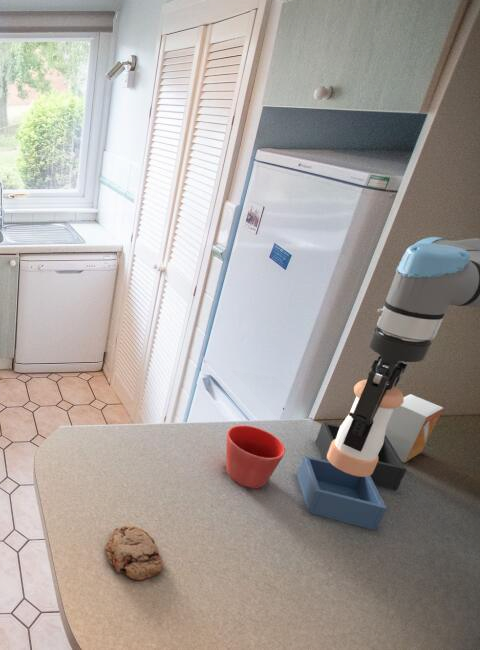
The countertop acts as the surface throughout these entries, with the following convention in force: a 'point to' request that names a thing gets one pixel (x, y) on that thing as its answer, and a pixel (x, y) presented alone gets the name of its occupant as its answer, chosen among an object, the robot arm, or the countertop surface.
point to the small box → (411, 426)
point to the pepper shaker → (368, 457)
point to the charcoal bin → (387, 466)
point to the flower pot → (252, 455)
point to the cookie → (134, 553)
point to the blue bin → (340, 494)
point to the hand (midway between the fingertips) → (359, 439)
